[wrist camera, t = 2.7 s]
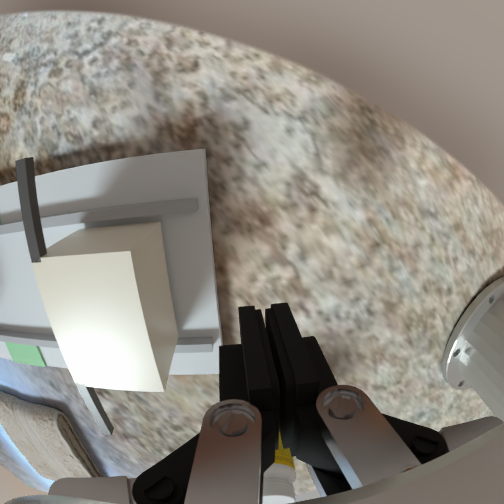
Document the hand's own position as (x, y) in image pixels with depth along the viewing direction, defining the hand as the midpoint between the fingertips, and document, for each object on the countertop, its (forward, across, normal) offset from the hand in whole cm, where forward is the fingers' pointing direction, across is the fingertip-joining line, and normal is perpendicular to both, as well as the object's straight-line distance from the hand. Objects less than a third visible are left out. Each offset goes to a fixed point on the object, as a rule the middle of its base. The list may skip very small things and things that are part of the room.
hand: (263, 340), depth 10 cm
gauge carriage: (+7, +7, 0) cm, 10 cm away
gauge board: (+8, +13, 0) cm, 15 cm away
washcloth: (+9, +25, +22) cm, 35 cm away
